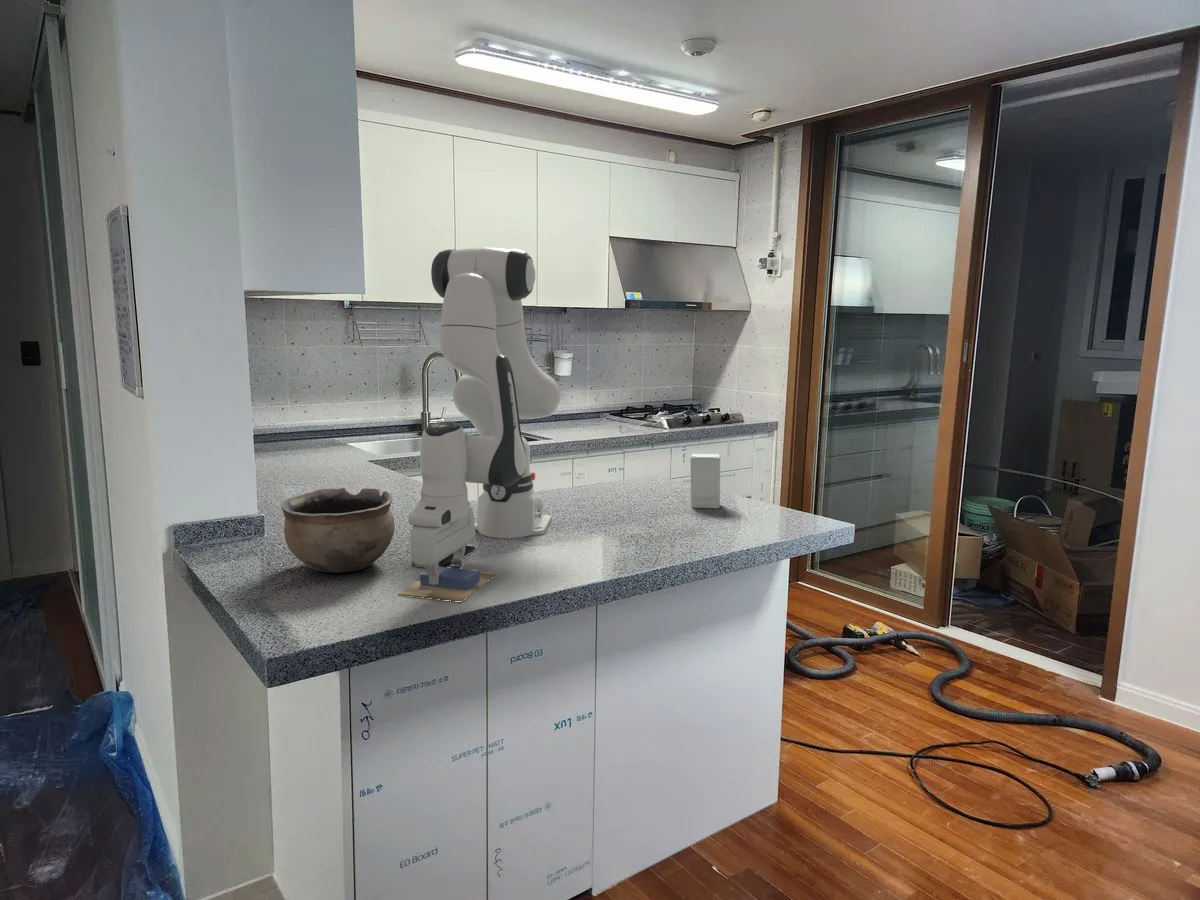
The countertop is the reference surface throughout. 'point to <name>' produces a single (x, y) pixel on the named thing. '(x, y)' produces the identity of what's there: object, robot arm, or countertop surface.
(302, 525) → the ceramic bowl
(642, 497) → the countertop surface
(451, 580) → the box
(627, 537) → the countertop surface
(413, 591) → the mat
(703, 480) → the skincare box
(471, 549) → the phone
